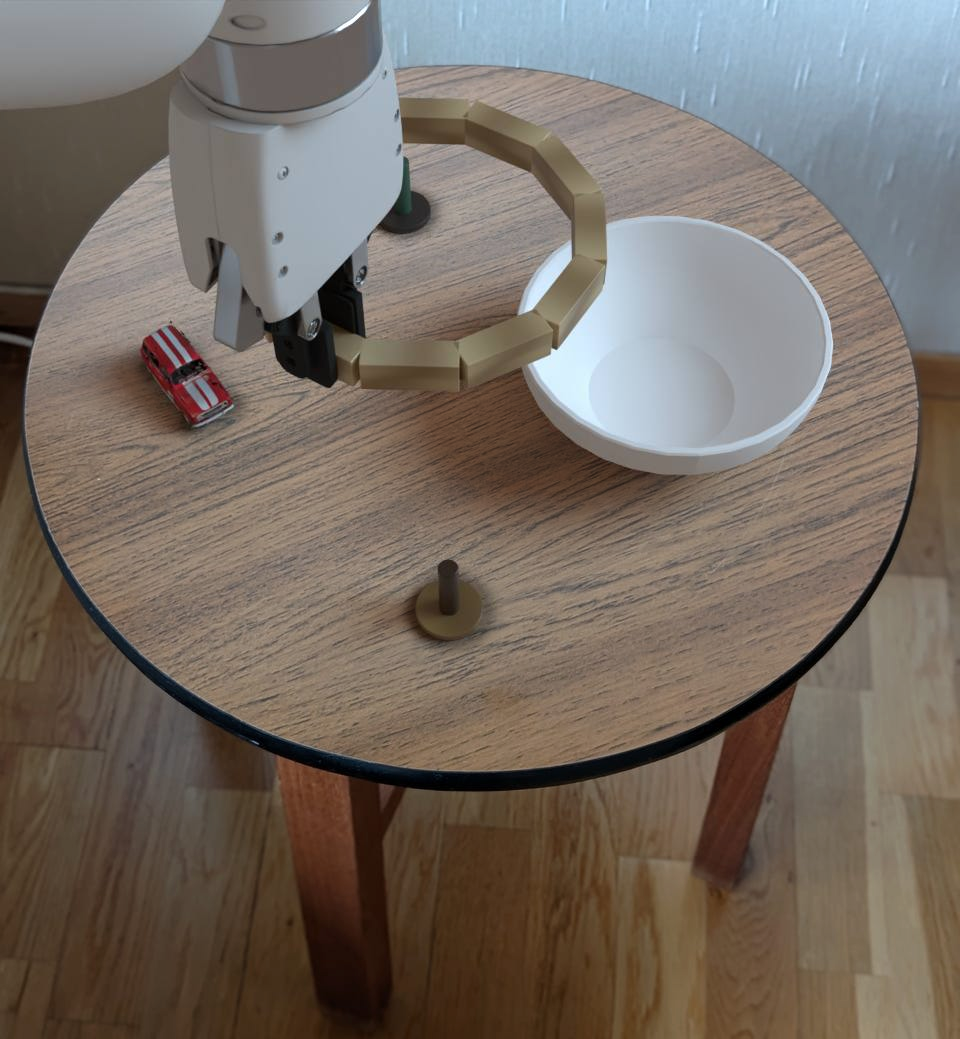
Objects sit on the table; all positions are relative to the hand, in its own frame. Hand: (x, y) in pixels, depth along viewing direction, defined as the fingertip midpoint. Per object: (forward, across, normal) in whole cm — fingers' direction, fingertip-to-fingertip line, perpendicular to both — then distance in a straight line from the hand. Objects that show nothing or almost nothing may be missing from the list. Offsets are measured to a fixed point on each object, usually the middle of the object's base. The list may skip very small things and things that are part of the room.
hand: (321, 354), depth 63 cm
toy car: (+21, -7, -18) cm, 28 cm away
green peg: (+21, -28, -14) cm, 37 cm away
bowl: (+21, -22, +10) cm, 32 cm away
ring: (0, -8, 0) cm, 9 cm away
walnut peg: (+21, -1, +6) cm, 22 cm away
